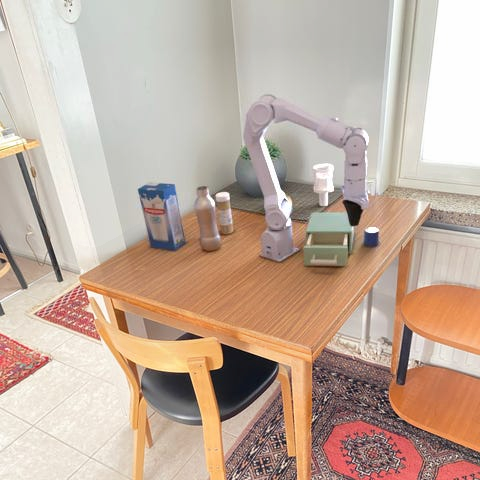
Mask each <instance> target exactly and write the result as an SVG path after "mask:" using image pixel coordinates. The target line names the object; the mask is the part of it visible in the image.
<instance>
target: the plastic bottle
mask: <svg viewBox="0 0 480 480" xmlns="http://www.w3.org/2000/svg"><path fill="white" fill-rule="evenodd" d="M209 189H210V188H209V187H208V185H202V186H198V187H196V188H195V190H196V194H195V195H196V196H197V197H196V199H195V200H194V203H193V209H194V212H195V215H196V218H197V222H198V226H199V244H200V246H201V248H202V250H204V251H207V252H211V251H216V250H218V249H219V248H220V247H221V246H222V245H221V244H222V240H221V235H220V233H219V229H218V226H217V217H216V216H217V215H216V202H215V200H214V198H213V197H212V196H211V195H210V190H209Z"/></svg>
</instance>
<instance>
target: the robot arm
mask: <svg viewBox="0 0 480 480" xmlns="http://www.w3.org/2000/svg"><path fill="white" fill-rule="evenodd" d="M338 119H339V118H338V117H337V116H335V115H333V116H332V117H331V116H325V117H324V118H320V117H318V116H316V115H314V114H313V113H311V112H309V111H307V110H305V109H302V108H301V107H299V106H298V105H295V104H293V103H292V102H290V101H287V100H286V99H284V98H282V97H276V96H275V95H273V94H272V93H271V94H270V93H267V94H263V95H262V96H260V97H259V99H257V100H256V101H254V102H253V103H252V104H251V105H250V107H249V108H248V110H247V112H246V114H245V122H244V123H245V124H244V128H243V134H242V137H243V142H244V144H245V147H246V149H247V153H248V155H249V158H250V161H251V164H252V167H253V170H254V173H255V175H256V179H257V181H258V184H259V187H260V190H261V193H262V195H263V198H264V199H263V208H264V212H265V215H264V219H265V224H266V225H267V227H266V229H265V230H264V232H263V233H262V234H261V236H260V245H261V253H260V257H262V258H265V259H268V260H272V261H275V262H278V263H281V262H283V261H284V260H286V259H288V258H289V257H291V256H293V255H294V254H296V253H298V252H299V251H300V248H298V247H295V246H294V239H293V222H292V220H291V218H290V216H291V214H292V213H293V204H292V205H291V203H290V202H289V201H288V200H287V198H286V196H285V195H286V194H285V192H284V191H283V190H282V189H281V186H280V183H279V179H278V177H277V174H276V171H275V168H274V165H273V162H272V159H271V156H270V153H269V149H268V147H267V143H266V140H265V138H264V135H265V133H266V131H267V130H268V128H269V125H270V124H271V122H272V121H273V122H274V124H278V123H279V124H280V123H282V122H285V121H288V122H290V123H293V124H295V125H298V126H300V127H303V128H305V129H308V130H311V131H313V132H315V133H316V136H317V139H319V140H321V141H322V142H324V143H327V144H329V145H332V146H333V147H336V148H338V149H342V150H343V151H344V153H345V156H344V157H345V160H344V176H343V181H344V183H343V185H342V186H340V194H342V196H343V200H342V204H343V206H344V209H345V212H347V215H348V220H349V224H350V226H352V227H353V226H354V227H357V226H359V225H360V221H361V217H362V215H363V212H364V210H368V209H370V208H371V207H370V205H371V201H370V200H369V199H368V198H369V197H368V196H370V193H371V192H370V191H369V190H368V189H367V171H368V170H367V169H368V168H367V167H368V159H367V156H368V154H367V153H368V152H367V149H368V143H369V136H368V133H367V132H366V131H365V130H364V129H363V128H362V127H360V126H359V127H355V126H354V125H352V124H351V125H348V124H345V123H344V122H341V121H339V120H338Z"/></svg>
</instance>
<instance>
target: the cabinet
mask: <svg viewBox="0 0 480 480" xmlns="http://www.w3.org/2000/svg"><path fill="white" fill-rule="evenodd" d="M310 233H349V241H348V255H351V254H352V251H353V245H354V238H355V237H354V236H355V226H353V227H352V226H350V224H349V220H348V215H347V211H345V212H343V211H342V212H341V211H340V212H338V211H337V212H336V211H335V212H334V211H333V212H311V214H310V216H309V220H308V223H307V226H306V230H305V245H306V244H307V241H308V238H309V234H310Z"/></svg>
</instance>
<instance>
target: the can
mask: <svg viewBox="0 0 480 480" xmlns="http://www.w3.org/2000/svg"><path fill="white" fill-rule="evenodd" d="M379 234H380V230H379V228H378V227H374V226H369V227H366V228H365V229H364V230H363V245H364V246H365V247H367V248H368V247H369V248H370V247H371V248H373V247H377V246H378V245H379V236H380V235H379Z"/></svg>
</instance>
